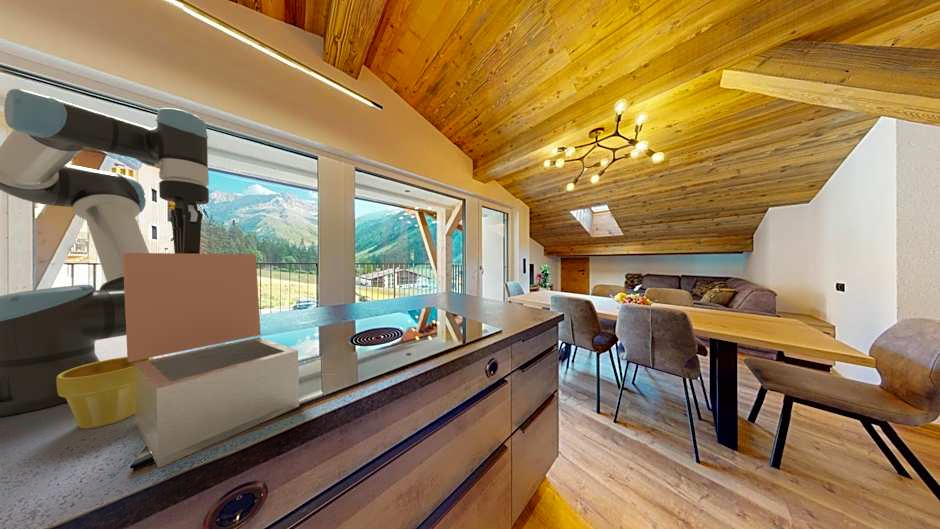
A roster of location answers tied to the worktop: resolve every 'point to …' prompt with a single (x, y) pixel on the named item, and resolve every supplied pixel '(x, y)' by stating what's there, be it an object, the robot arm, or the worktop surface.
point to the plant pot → (100, 391)
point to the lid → (188, 301)
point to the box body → (212, 394)
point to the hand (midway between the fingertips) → (188, 288)
